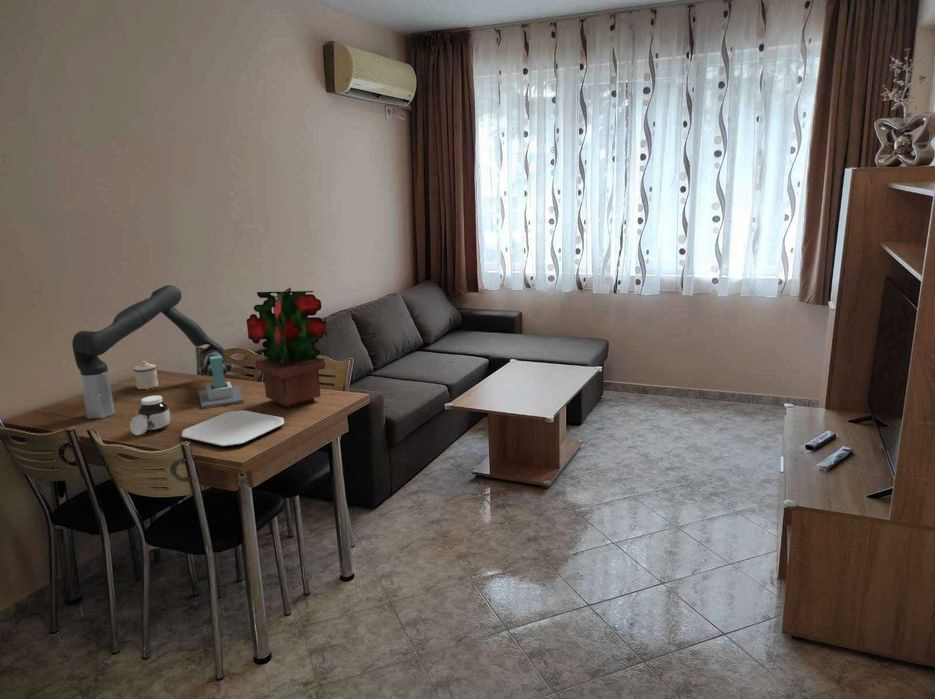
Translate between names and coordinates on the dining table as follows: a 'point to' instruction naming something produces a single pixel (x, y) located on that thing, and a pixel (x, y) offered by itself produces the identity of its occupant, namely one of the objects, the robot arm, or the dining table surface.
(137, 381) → the teacup with lid
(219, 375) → the teal peg
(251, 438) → the plate
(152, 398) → the spread jar
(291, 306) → the potted plant
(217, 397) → the socket holder
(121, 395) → the dining table surface
